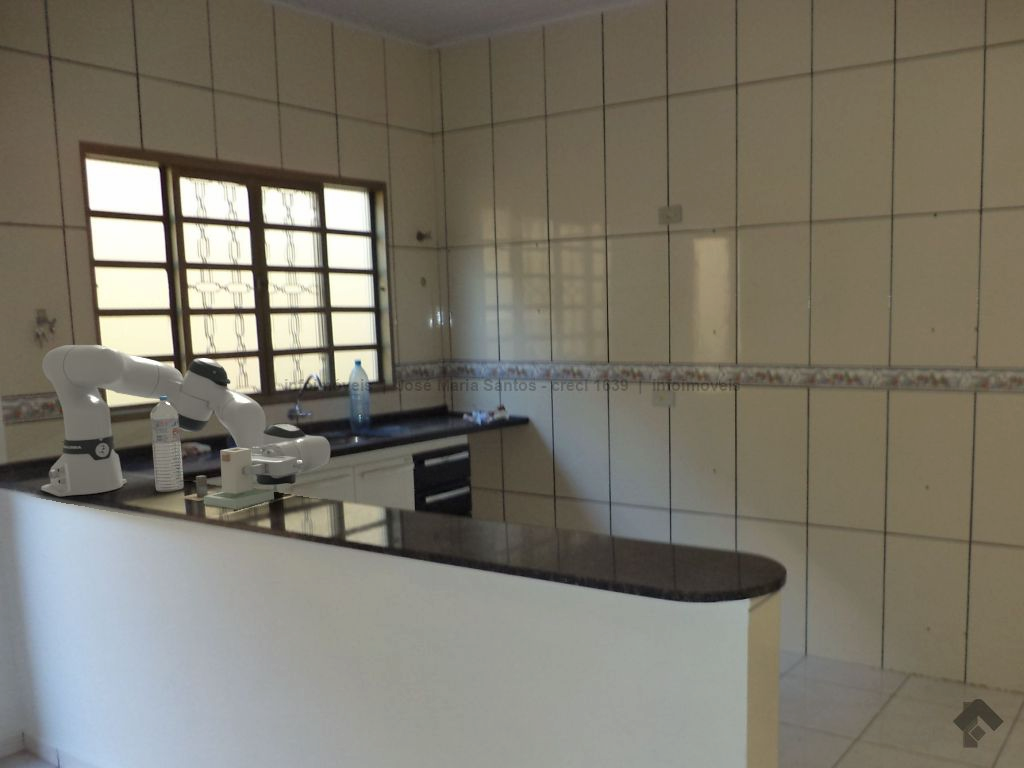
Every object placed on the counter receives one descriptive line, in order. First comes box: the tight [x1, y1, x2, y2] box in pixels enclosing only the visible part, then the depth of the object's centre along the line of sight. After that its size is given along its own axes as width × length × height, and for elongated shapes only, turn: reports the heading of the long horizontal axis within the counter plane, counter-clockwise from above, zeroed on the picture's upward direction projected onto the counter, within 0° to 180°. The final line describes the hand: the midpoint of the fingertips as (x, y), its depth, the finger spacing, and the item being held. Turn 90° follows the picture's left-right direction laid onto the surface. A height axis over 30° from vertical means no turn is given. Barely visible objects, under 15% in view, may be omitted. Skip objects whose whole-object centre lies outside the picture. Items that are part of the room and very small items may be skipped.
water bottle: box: [149, 396, 185, 493], centre depth 219 cm, size 7×7×25 cm
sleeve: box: [219, 447, 254, 494], centre depth 200 cm, size 5×6×10 cm
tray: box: [203, 487, 275, 512], centre depth 202 cm, size 11×11×2 cm
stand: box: [179, 475, 216, 502], centre depth 209 cm, size 8×8×6 cm
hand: (235, 470), depth 200 cm, fingers closed on sleeve, 5 cm apart
